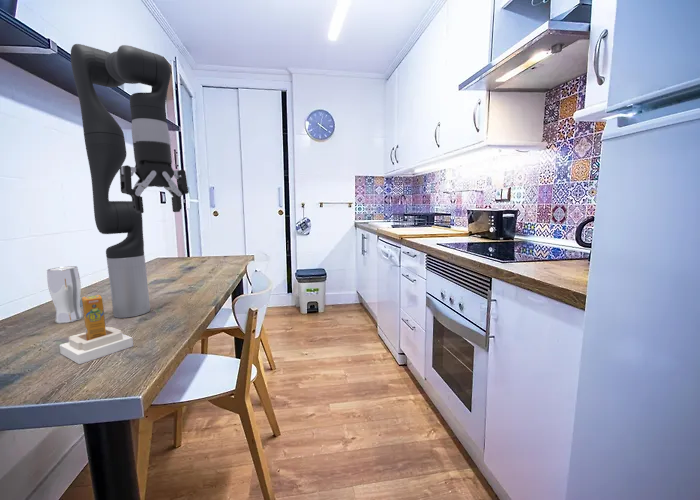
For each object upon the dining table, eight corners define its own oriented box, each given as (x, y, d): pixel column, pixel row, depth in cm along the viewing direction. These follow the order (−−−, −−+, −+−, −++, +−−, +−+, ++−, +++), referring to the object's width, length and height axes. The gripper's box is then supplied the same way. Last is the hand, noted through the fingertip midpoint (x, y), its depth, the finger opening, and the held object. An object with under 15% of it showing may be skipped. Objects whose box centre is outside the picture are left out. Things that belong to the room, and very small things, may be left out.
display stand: (60, 353, 72) (58, 338, 71) (113, 337, 80) (111, 323, 79) (79, 364, 66) (77, 347, 66) (133, 346, 75) (131, 331, 74)
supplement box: (88, 345, 70) (82, 299, 69) (86, 341, 73) (80, 297, 72) (107, 340, 73) (102, 296, 71) (105, 336, 75) (99, 293, 74)
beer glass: (91, 317, 96) (84, 266, 95) (64, 325, 90) (56, 271, 88) (75, 315, 99) (68, 265, 97) (47, 322, 92) (39, 270, 90)
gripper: (173, 148, 85) (179, 212, 87) (109, 140, 73) (118, 213, 75) (190, 144, 81) (195, 211, 83) (125, 135, 69) (134, 213, 71)
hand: (158, 212), depth 79 cm, fingers open, 8 cm apart
